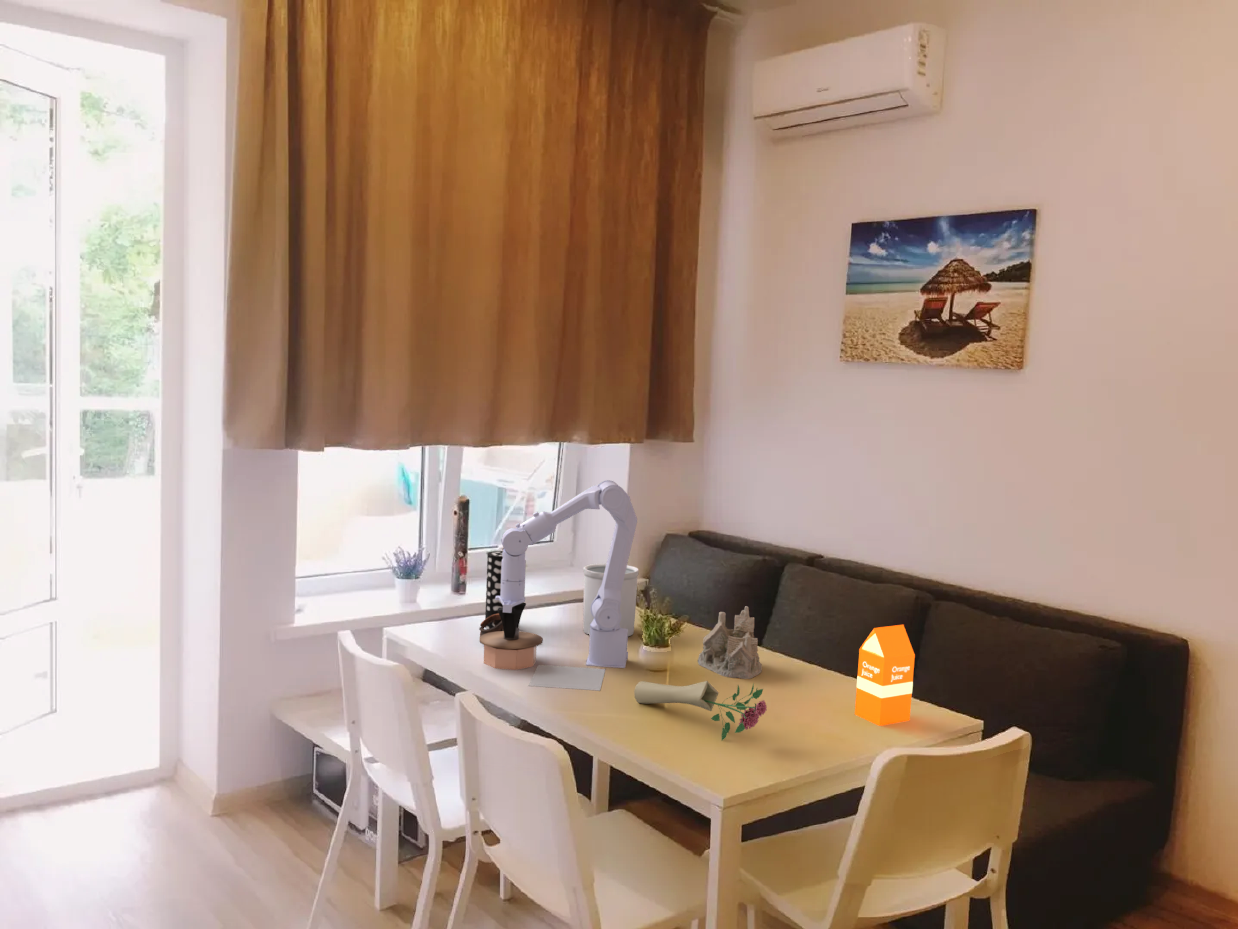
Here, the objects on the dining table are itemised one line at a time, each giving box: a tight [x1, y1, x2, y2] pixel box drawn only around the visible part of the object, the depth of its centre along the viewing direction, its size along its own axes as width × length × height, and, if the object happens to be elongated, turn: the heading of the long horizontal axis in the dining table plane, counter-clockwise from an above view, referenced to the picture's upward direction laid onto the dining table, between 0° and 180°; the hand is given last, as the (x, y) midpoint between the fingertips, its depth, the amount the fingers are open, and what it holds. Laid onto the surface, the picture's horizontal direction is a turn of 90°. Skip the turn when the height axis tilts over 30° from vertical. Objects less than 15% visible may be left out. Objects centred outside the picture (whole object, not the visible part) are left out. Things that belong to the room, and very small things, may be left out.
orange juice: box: [854, 624, 916, 727], centre depth 223 cm, size 8×9×20 cm
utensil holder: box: [582, 563, 639, 637], centre depth 281 cm, size 15×15×18 cm
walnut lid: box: [478, 627, 544, 649], centre depth 249 cm, size 15×15×3 cm
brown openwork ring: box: [478, 614, 504, 637], centre depth 268 cm, size 12×10×8 cm
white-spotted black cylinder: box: [484, 550, 503, 629], centre depth 281 cm, size 8×8×20 cm
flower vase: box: [633, 680, 767, 741], centre depth 212 cm, size 12×12×35 cm
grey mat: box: [527, 664, 606, 692], centre depth 240 cm, size 16×16×1 cm
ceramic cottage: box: [697, 605, 763, 680], centre depth 254 cm, size 16×16×15 cm
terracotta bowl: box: [483, 644, 538, 671], centre depth 249 cm, size 12×12×5 cm
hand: (511, 635), depth 249 cm, fingers closed on walnut lid, 3 cm apart
